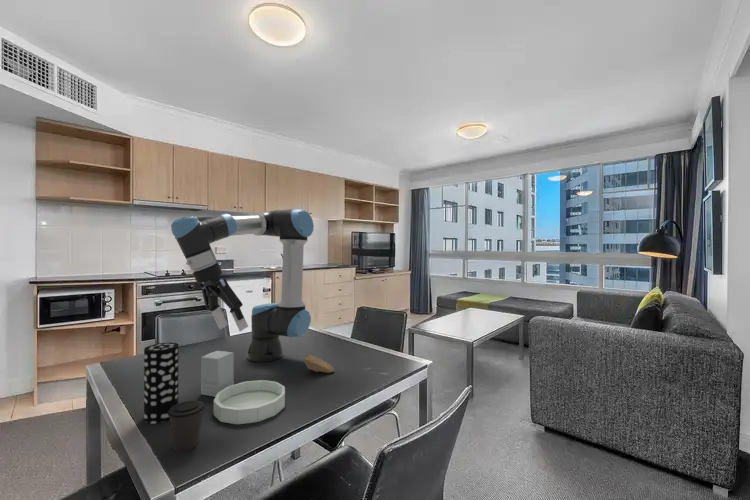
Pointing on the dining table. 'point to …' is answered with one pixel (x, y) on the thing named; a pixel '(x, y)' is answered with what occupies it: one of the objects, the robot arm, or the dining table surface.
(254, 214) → the robot arm
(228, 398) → the bowl
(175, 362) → the white-spotted black cylinder
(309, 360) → the pottery oil lamp
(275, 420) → the dining table surface
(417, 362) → the dining table surface
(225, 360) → the supplement box
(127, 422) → the dining table surface
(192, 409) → the coffee cup
